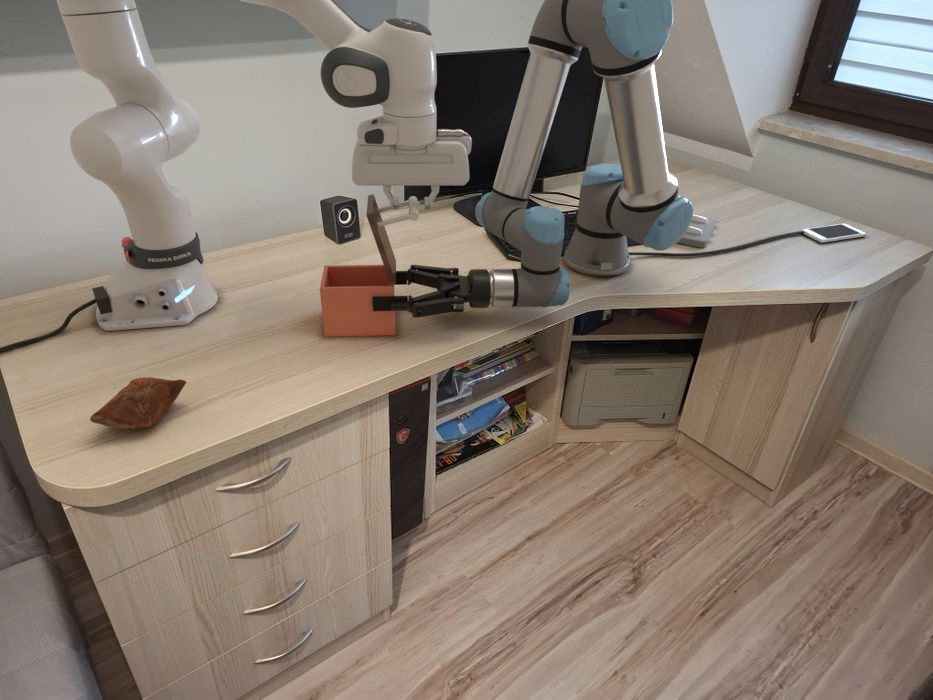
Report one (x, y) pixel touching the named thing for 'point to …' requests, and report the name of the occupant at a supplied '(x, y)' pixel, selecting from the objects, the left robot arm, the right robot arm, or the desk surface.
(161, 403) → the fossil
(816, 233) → the smartphone
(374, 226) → the lid
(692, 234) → the light switch
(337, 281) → the chest
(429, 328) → the desk surface
